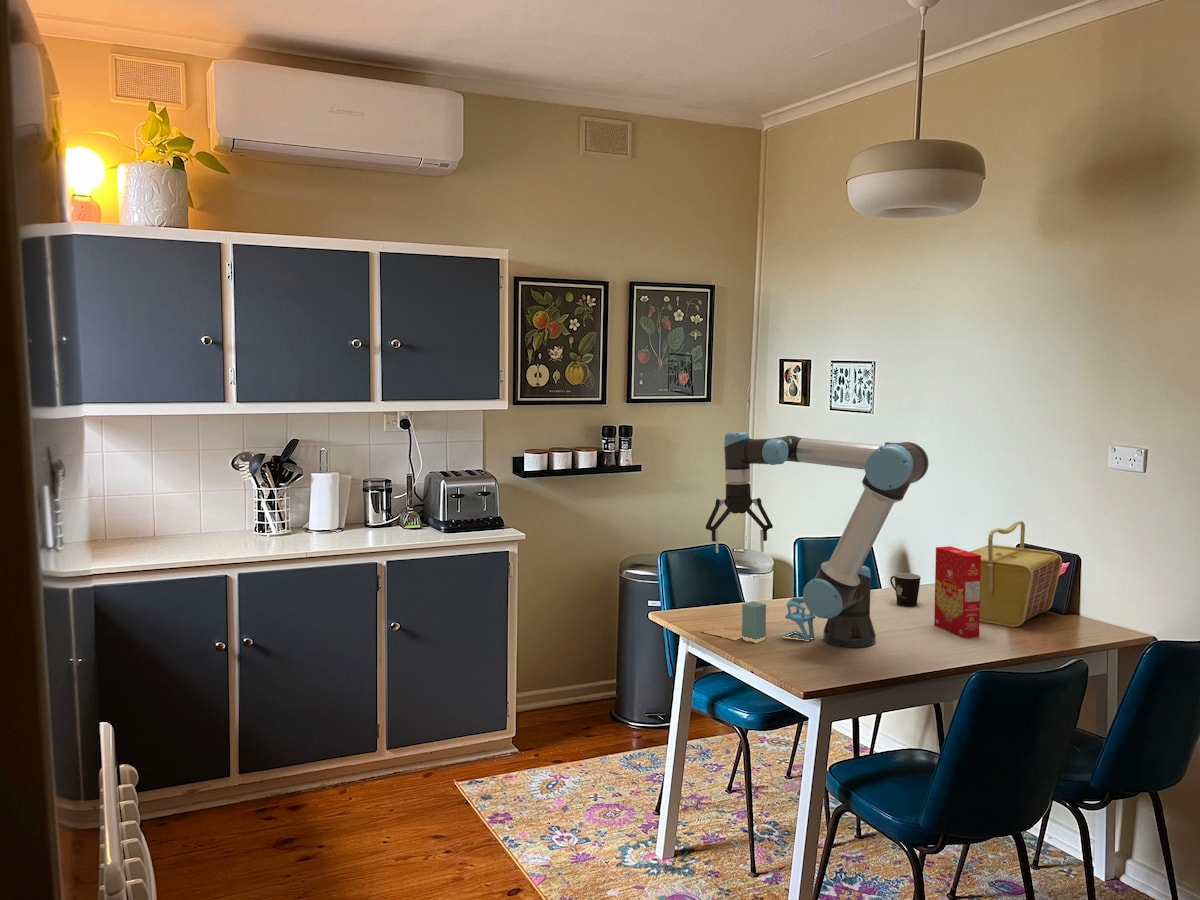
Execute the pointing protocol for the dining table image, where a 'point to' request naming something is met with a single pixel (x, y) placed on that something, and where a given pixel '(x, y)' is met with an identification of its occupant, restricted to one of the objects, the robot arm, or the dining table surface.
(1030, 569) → the picnic basket
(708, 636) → the dining table surface
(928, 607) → the dining table surface
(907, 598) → the coffee mug
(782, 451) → the robot arm
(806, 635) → the chair
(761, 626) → the teal block
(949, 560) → the food packaging
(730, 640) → the dining table surface
